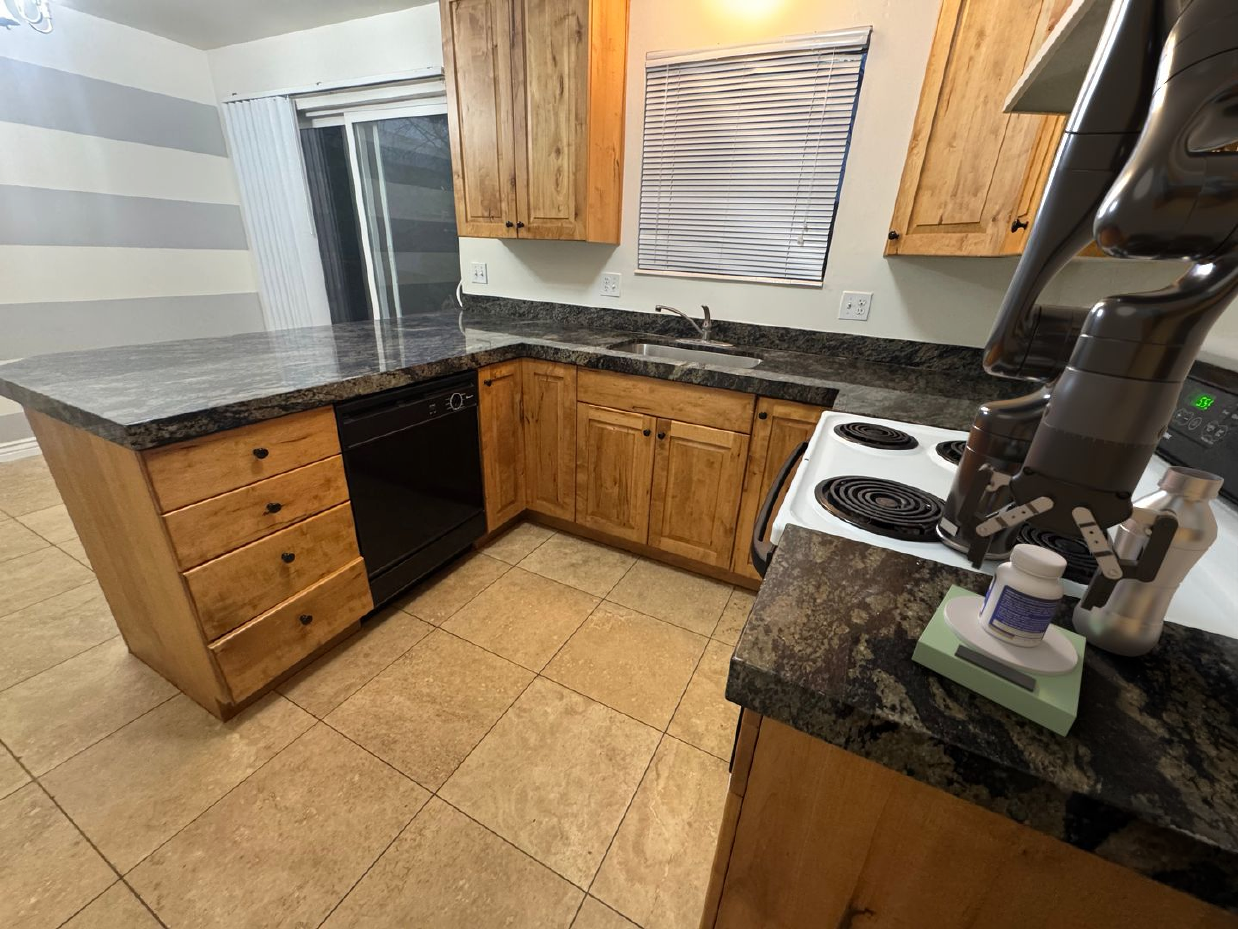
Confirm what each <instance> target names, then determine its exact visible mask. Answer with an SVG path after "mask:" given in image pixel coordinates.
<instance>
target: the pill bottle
mask: <svg viewBox="0 0 1238 929" xmlns="http://www.w3.org/2000/svg"><path fill="white" fill-rule="evenodd" d="M1067 565H1068V562H1067V560H1066V559H1065V558H1064V557H1063V556H1062V555H1060V554H1059V553H1057V552H1055V551H1053V550H1050V549H1048V548H1045V547H1042V546H1038V545H1036V544H1035V545H1034V544H1030V543H1029V544H1028V543H1018V544H1016V545H1015V546H1013V551H1012V553H1011V555H1010V557H1009V561H1007V562H1004V563H1001V564H1000V565H998V566H997V568H996V570H995V572H994V574H993V578H992V580H991V582H990V585H989V588H988V589H987V592H986V595H985V596H984V597H985V600H984V602H983V604H982V607H981V609H980V612H979V615H978V620H979V622H980V624H981V625H982V627H983V628H984V629H985V630H987V631H988V632H989V633H990V634H992V635H994V636H995V637H997V638H999V639H1001V640H1003V641H1005V642H1008V643H1011V644H1014V645H1018V646H1023V647H1033V646H1037V645H1038V644H1040V643H1041V641H1042V639H1043V637H1044V635H1045V633H1046V630H1047V628H1048V626H1049V624H1050V623H1051V622H1052V620H1053V618H1054V616H1055V614H1056V612H1057V609H1058V607H1059V605H1060V603H1061V601H1062V599H1063V597H1064V593H1065V587H1064V585H1063V584H1064V583H1062V581H1061V580H1060V579H1061V578H1062V577H1063V575H1064V572H1065V570H1066V568H1067Z"/></svg>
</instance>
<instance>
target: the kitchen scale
mask: <svg viewBox="0 0 1238 929" xmlns="http://www.w3.org/2000/svg"><path fill="white" fill-rule="evenodd" d="M985 597H986V596H983V595H981V594H978V593H976V592H973V591H970V590H968V589H965V588H963V587H961V586H958V585H956V584H951V586H950V588H949V590H948V592H947V593H946V595H945V596H944V597H943V600H942V601H941V603H940V604H939V606H938V607H937V609H936V611H935V612H934V614H933V616H932V618H931V619H930V621H929V622H928V624H927V626H926V627H925V629H924V631H923V632H922V634H921V636H920V638H919V639H918V640H917V642H916V646H915V648H914V651H913V654H912V657H911V660H912V661H913V662H915V663H918V664H920V665H922V666H924V667H926V668H928V669H930V670H932V671H934V672H935V673H937V674H940V675H942V676H944V677H946V678H948V679H950V680H951V681H953V682H954V683H957V684H959V685H961V686H963V687H966V688H967V689H969V690H971V691H973V692H975V693H976V694H979V695H981V696H983V697H985V698H987V699H989V700H991V701H992V702H994V703H997V704H999V705H1000V706H1003V707H1004V708H1007V709H1009V710H1010V711H1012V712H1014V713H1017V714H1019V715H1021V716H1022V717H1024V718H1025V719H1028V720H1030V721H1032V722H1034V723H1036V724H1038V725H1039V726H1043V727H1044V728H1046V729H1048V730H1049V731H1052V732H1054V733H1056V734H1058V735H1060V736H1062V737H1064V738H1066V736H1067V735H1068V733H1069V731H1070V729H1071V728H1072V726H1073V724H1074V722H1075V720H1076V719H1077V715H1078V706H1079V698H1080V692H1081V684H1082V675H1083V669H1084V668H1083V666H1084V661H1085V660H1084V658H1085V652H1086V651H1085V650H1086V643H1087V641H1086V637H1083V636H1081V635H1079V634H1078V633H1077V632H1076V633H1075V632H1073V631H1070V630H1068V629H1066V628H1063V627H1061V626H1058V625H1056V624H1054V623H1051V622H1050V624H1049V626H1048V628H1047V630H1046V633H1045V635H1044V637H1043V639H1042V641H1041V643H1040V644H1038V645H1037V646H1033V647H1023V646H1018V645H1014V644H1011V643H1008V642H1005V641H1003V640H1001V639H999V638H997V637H995V636H994V635H992V634H990V633H989V632H988V631H987V630H985V629H984V628H983V627H982V625H981V624H980V622H979V620H978V615H979V612H980V609H981V607H982V604H983V602H984V600H985Z"/></svg>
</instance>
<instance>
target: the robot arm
mask: <svg viewBox="0 0 1238 929" xmlns="http://www.w3.org/2000/svg"><path fill="white" fill-rule="evenodd" d="M1236 142H1238V0H1190V1H1189V2H1188V3H1187V4H1186V6H1185V7H1184V8H1183V10H1182V6H1181V0H1112V2H1111V5H1110V9H1109V11H1108V14H1107V18H1106V21H1105V23H1104V26H1103V29H1102V31H1101V35H1100V37H1099V41H1098V43H1097V45H1096V48H1095V50H1094V54H1093V56H1092V58H1091V61H1090V64H1089V66H1088V69H1087V72H1086V74H1085V76H1084V80H1083V82H1082V85H1081V87H1080V90H1079V93H1078V95H1077V98H1076V100H1075V103H1074V105H1073V108H1072V111H1071V113H1070V116H1069V118H1068V121H1067V122H1066V126H1065V128H1064V132H1063V134H1062V136H1061V140H1060V142H1059V145H1058V148H1057V151H1056V154H1055V156H1054V160H1053V161H1052V165H1051V168H1050V170H1049V174H1048V177H1047V181H1046V184H1045V187H1044V189H1043V193H1042V197H1041V199H1040V202H1039V205H1038V207H1037V212H1036V215H1035V218H1034V221H1033V224H1032V227H1031V230H1030V233H1029V236H1028V240H1026V241H1027V242H1026V245H1025V247H1024V250H1023V253H1022V255H1021V256H1020V260H1019V262H1018V265H1017V267H1016V269H1015V272H1014V274H1013V276H1012V278H1011V279H1012V280H1011V281H1010V283H1009V285H1008V289H1007V291H1006V293H1005V294H1004V298H1003V300H1002V302H1001V305H1000V307H999V310H998V311H997V314H996V316H995V318H994V321H993V324H992V326H991V327H990V328H991V329H990V331H989V334H988V336H987V339H986V342H985V345H984V349H983V353H982V368H983V370H984V371H985V372H986V373H987V374H988V375H991V376H995V377H1000V378H1007V379H1015V380H1021V381H1028V382H1035V383H1043V384H1044V385H1043V386H1042V387H1041V388H1040V389H1039V390H1037V391H1035V392H1032V393H1030V394H1027V395H1024V396H1020V397H1017V398H1010V399H1004V400H1003V399H1001V400H995V401H988V402H985V403H983V404H981V405H979V407H978V409H977V410H976V412H975V415H974V419H973V422H972V425H971V427H970V431H969V434H968V436H967V439H966V442H965V445H964V448H963V451H962V453H961V456H960V459H959V463H958V466H957V468H956V471H955V475H954V477H953V480H952V483H951V486H950V488H949V489H950V490H949V491H948V495H947V498H946V500H945V503H944V506H943V509H942V512H941V514H940V518H939V520H938V523H937V525H935V526H936V527H935V529H934V534H935V536H936V537H937V539H938V540H939V541H941V542H942V543H943V544H944V545H946V546H948V547H950V548H951V549H954V550H956V551H957V552H960V553H963V554H965V555H966V559H967V561H969V562H971V566H970V567H971V568H972V569H973V570H977V571H980V569H981V567H982V566H983V563H984V562H985V560H994V561H995V560H997V561H999V560H1006V559H1008V558H1010V557H1011V554H1012V551H1013V549H1014V545H1015V544H1016V541H1017V538H1018V536H1019V533H1020V532H1021V530H1022V527H1023V525H1024V522H1025V523H1026V524H1028V525H1029V527H1030V528H1032V529H1036V530H1038V531H1043V532H1052V533H1053V534H1056V535H1058V536H1060V537H1061V538H1064V539H1068V540H1070V541H1074V540H1081V539H1084V541H1085V543H1086V545H1087V546H1088V548H1089V550H1090V553H1091V554H1092V556H1093V557H1094V558H1095V560H1096V562H1097V564H1098V566H1097V568H1096V570H1095V572H1094V573H1093V576H1092V577H1091V580H1090V581H1089V584H1088V586H1087V587H1086V589H1085V591H1084V594H1083V596H1082V597H1081V599H1082V600H1081V599H1080V600H1081V606H1080V608H1083V609H1085V610H1088V611H1091V610H1092V608H1093V606H1095V607H1097V608H1102V607H1103V606H1105V605H1106V603H1107V602H1108V599H1109V598H1110V596H1111V594H1112V592H1113V590H1114V588H1115V586H1116V585H1117V583H1118V582H1119V581H1120V580H1122V579H1137V580H1139V581H1141V582H1145V583H1149V582H1152V581H1154V580H1155V578H1156V576H1157V573H1158V571H1159V569H1160V567H1161V564H1162V562H1163V560H1164V558H1165V555H1166V553H1167V551H1168V549H1169V546H1170V544H1171V542H1172V540H1173V537H1174V535H1175V533H1176V531H1177V528H1178V520H1177V515H1176V513H1175V512H1174V511H1173V510H1171V509H1166V508H1164V509H1160V510H1158V511H1156V510H1151V509H1147V508H1142V507H1137V506H1133V504H1132V502H1133V501H1132V498H1133V495H1134V493H1135V491H1136V489H1137V487H1138V485H1139V484H1140V481H1141V479H1142V476H1143V475H1144V473H1145V471H1146V469H1147V468H1148V464H1149V462H1151V459H1152V456H1153V455H1154V453H1155V451H1156V449H1157V447H1158V445H1159V443H1160V441H1161V439H1163V437H1164V436H1165V435H1166V433H1167V431H1168V430H1169V429H1168V427H1169V422H1170V421H1171V418H1172V417H1173V414H1174V413H1175V410H1176V406H1177V405H1178V404H1177V403H1178V401H1179V396H1180V393H1181V390H1182V388H1183V385H1184V381H1186V378H1187V377H1188V375H1189V373H1190V370H1191V369H1192V366H1193V365H1194V363H1195V361H1196V359H1197V357H1198V354H1199V352H1200V351H1201V349H1202V346H1203V345H1204V343H1205V341H1206V339H1207V336H1208V334H1209V333H1210V331H1211V329H1212V328H1213V326H1214V325H1215V324H1216V323H1217V321H1218V320H1219V319H1220V317H1221V316H1223V313H1224V312H1225V311H1226V310H1227V309H1228V308H1229V307H1230V305H1231V304H1232V303H1233V301H1234V300H1235V299H1236V298H1237V297H1238V150H1214V149H1218V148H1221V147H1224V146H1227V145H1230V144H1233V143H1236ZM1210 150H1211V151H1210ZM1213 150H1214V151H1213ZM1094 241H1095V244H1096V246H1097V247H1098V249H1099V250H1100V251H1101V252H1102V253H1103V254H1105V255H1106V256H1108V257H1112V258H1115V259H1121V260H1122V259H1123V260H1141V261H1142V260H1144V261H1148V260H1149V261H1165V262H1167V261H1169V262H1172V261H1173V262H1189V263H1190V262H1191V264H1190V266H1189V267H1188V268H1187V269H1186V270H1185V272H1183V273H1182V274H1181V275H1180V276H1179V277H1177V279H1175V280H1174V281H1173V282H1171V283H1170V284H1168V285H1167V286H1164V287H1162V288H1159V289H1154V290H1148V291H1138V292H1128V293H1118V294H1113V295H1107V296H1105V297H1103V298H1101V299H1099V300H1097V301H1096V302H1094V303H1093V305H1092V306H1091V308H1090V307H1081V306H1080V307H1079V306H1068V305H1055V304H1044V303H1043V304H1042V303H1041V304H1039V303H1037V301H1038V300H1039V298H1040V296H1041V295H1042V293H1043V292H1044V290H1045V289H1046V288H1047V287H1048V285H1049V284H1050V283H1051V281H1052V280H1053V279H1054V278H1055V277H1056V276H1057V275H1058V273H1059V272H1061V270H1063V269H1064V267H1065V266H1067V264H1069V263H1070V261H1072V259H1074V258H1075V257H1076V256H1077V255H1078V254H1079V253H1080V252H1082V251H1083V250H1084V249H1085V248H1086V247H1087V246H1088V245H1090V244H1091V243H1093V242H1094ZM1128 519H1132V520H1134V521H1136V522H1137V524H1138V531H1139V533H1140V534H1142V535H1144V536H1146V537H1145V539H1144V542H1143V544H1142V546H1141V549H1140V551H1139V553H1138V556H1137V558H1136V560H1129V559H1121V558H1120V556H1119V554H1118V552H1117V550H1116V548H1115V546H1114V539H1113V538H1112V536H1111V534H1110V531H1109V530H1108V529H1111V528H1113V527H1115V526H1118V524H1120V523H1123V522H1125V521H1127V520H1128Z"/></svg>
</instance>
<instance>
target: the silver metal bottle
mask: <svg viewBox="0 0 1238 929" xmlns="http://www.w3.org/2000/svg"><path fill="white" fill-rule="evenodd" d="M1224 481H1225V479H1224V478H1223V477H1221V476H1219V475H1217V474H1214V473H1211V472H1208V471H1203V470H1201V469H1196V468H1190V467H1185V466H1177V465H1175V466H1174V465H1172V466H1168V467H1167V468H1166V470H1165V472H1164V473H1163V475H1162V477H1161V478H1159V479H1158V481H1157V483H1156V485H1157V486H1158V487H1159V488H1158V489H1157V490H1156V491H1153V492H1150V493H1148V494H1146V495H1144V496H1141V497H1139V498H1138V499H1136V500H1134V501H1132V504H1133V506H1137V507H1142V508H1147V509H1151V510H1156V511H1158V510H1160V509H1164V508H1166V509H1171V510H1173V511H1174V512H1175V513H1176V515H1177V520H1178V528H1177V531H1176V533H1175V535H1174V537H1173V540H1172V542H1171V544H1170V546H1169V549H1168V551H1167V553H1166V555H1165V558H1164V560H1163V562H1162V564H1161V567H1160V569H1159V571H1158V573H1157V576H1156V578H1155V580H1154V581H1152V582H1149V583H1145V582H1141V581H1139V580H1137V579H1122V580H1120V581H1119V582H1118V583H1117V585H1116V586H1115V588H1114V590H1113V592H1112V594H1111V596H1110V598H1109V599H1108V602H1107V603H1106V605H1105V606H1103V607H1102V608H1097V607H1095V606H1093V608H1092V610H1091V611H1088V610H1085V609H1083V608H1080V606H1081V600H1082V598H1081V599H1080V600H1079V601H1078V602H1077V604H1076V606H1075V607H1074V609H1073V614H1072V619H1071V620H1072V621H1071V622H1072V625H1073V628H1074V629H1075V630H1074V631H1075V632H1076V634H1078V635H1081V636H1083V637H1086V642H1088V643H1090V644H1091V645H1093V646H1095V647H1097V648H1099V649H1101V650H1104V651H1106V652H1108V653H1112V654H1115V655H1118V656H1123V657H1138V656H1142V655H1146V654H1148V653H1149V652H1150V651H1151V650H1153V648H1154V647H1155V646H1156V645H1157V644H1158V643H1159V640H1160V638H1161V635H1162V633H1163V632H1162V631H1163V629H1164V628H1163V627H1164V620H1165V617H1166V615H1167V612H1168V610H1169V608H1170V605H1171V602H1172V600H1173V598H1174V595H1175V594H1176V592H1177V590H1178V589H1179V588H1180V586H1181V584H1182V583H1183V581H1184V580H1185V578H1186V577H1187V575H1188V574H1189V573H1190V571H1191V570H1192V568H1193V567H1195V565H1197V563H1198V562H1199V560H1200V559H1201V558H1202V557H1203V556H1204V555H1205V554H1206V553H1207V551H1208V550H1209V549H1210V548H1211V547H1212V546H1213V544H1214V543H1215V542H1216V540H1217V538H1218V531H1219V526H1218V523H1217V520H1216V516H1215V515H1214V513H1213V510H1212V507H1211V506H1210V504H1209V503H1210V501H1211V500H1212V501H1213V500H1216V499H1217V498H1218V496H1219V491H1220V489H1221V488H1222V486H1223V485H1224ZM1145 537H1146V536H1144V535H1142V534H1140V533H1139V531H1138V524H1137V522H1136V521H1134V520H1132V519H1128V520H1127V521H1125V522H1123V523H1120V524H1118V525H1117V527H1116V531H1115V535H1114V539H1113V543H1114V546H1115V548H1116V550H1117V552H1118V554H1119V556H1120V558H1121V559H1129V560H1136V558H1137V556H1138V553H1139V551H1140V549H1141V546H1142V544H1143V542H1144V539H1145Z"/></svg>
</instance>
